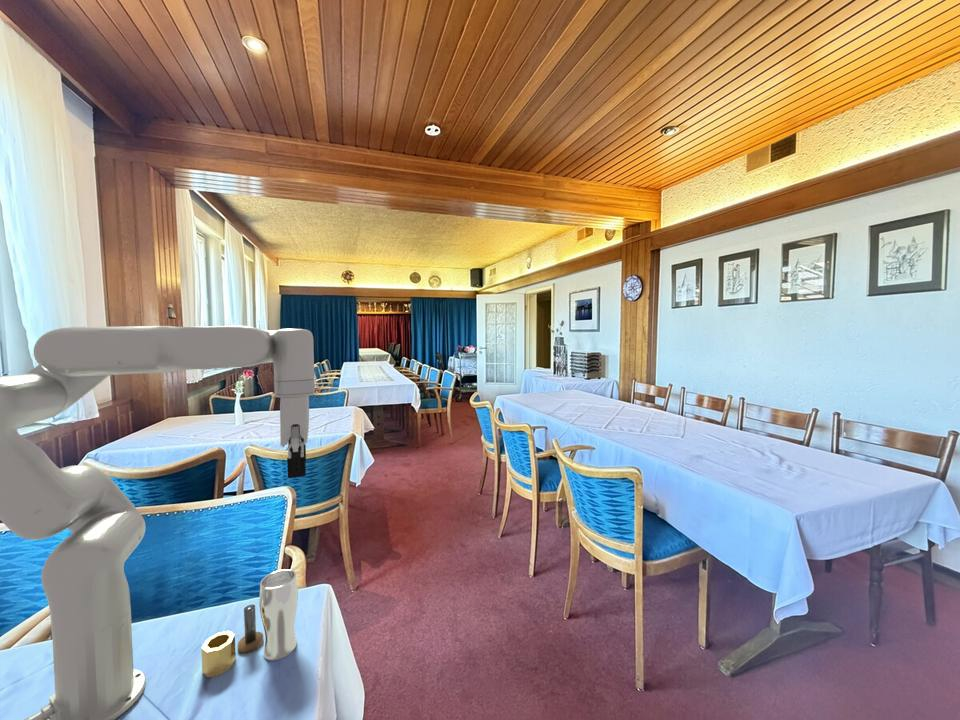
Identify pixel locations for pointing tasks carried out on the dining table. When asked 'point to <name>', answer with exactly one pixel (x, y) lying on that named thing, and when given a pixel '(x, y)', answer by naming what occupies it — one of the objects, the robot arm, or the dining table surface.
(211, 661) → the brass ring
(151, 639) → the dining table surface
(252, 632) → the stand
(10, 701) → the dining table surface
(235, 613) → the dining table surface
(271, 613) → the silver metal vase
